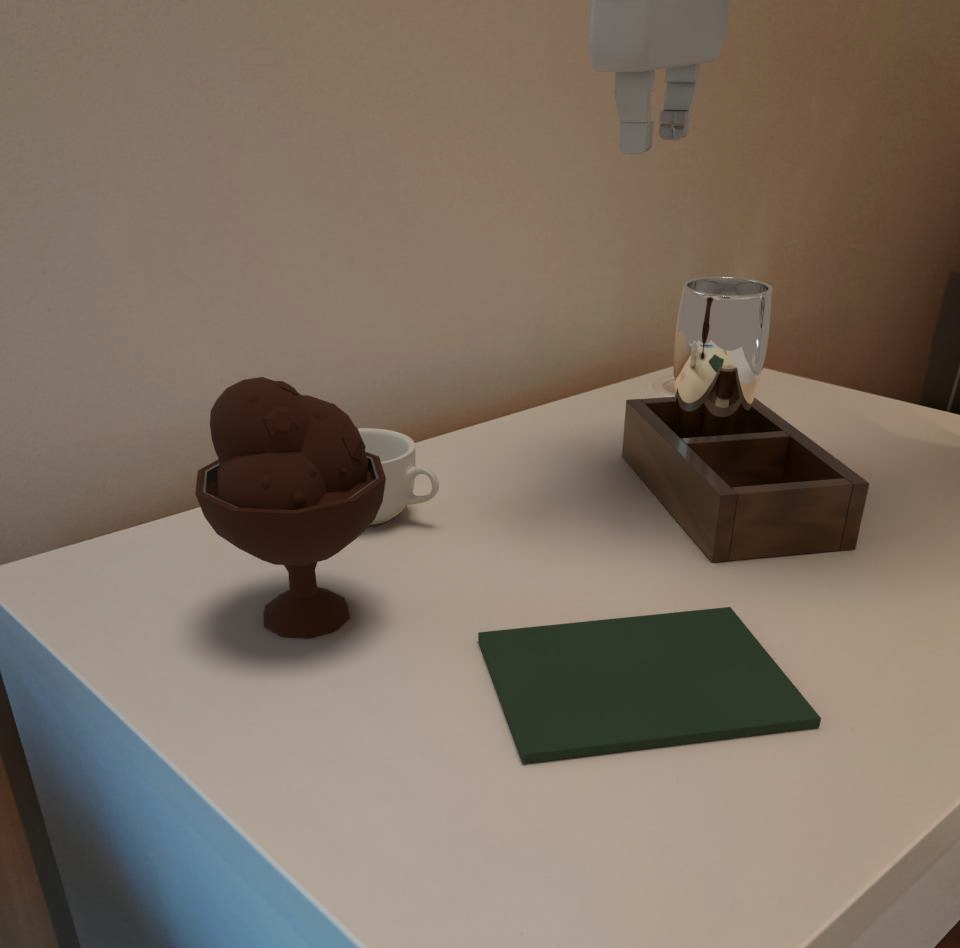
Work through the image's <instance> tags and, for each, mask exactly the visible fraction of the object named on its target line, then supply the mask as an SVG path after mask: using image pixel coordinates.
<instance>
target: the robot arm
mask: <svg viewBox="0 0 960 948" xmlns="http://www.w3.org/2000/svg"><path fill="white" fill-rule="evenodd" d="M732 2H733V0H590V12H589V13H590V14H589V26H588V54H589V60H590V64H591V67H592V69H593V70H594V71H595V72H599V73H615V75H614V98H615V103H616V109H617V115H618V121H619V139H618V148H619V150H620V152H621V153H623V154H627V155H628V154H629V155H641V154H644V153H647V152H649V151H650V150H651V148H653V147H652V146H653V141H654V140H653V135H654V128H655V121H654V120H652V92H654V90H655V82H656V81H655V80H656V71H658V70H659V71H660V70H665V72H664V82H665V83H666V86H665V93H664V101H663V109H662V110H660V113H659V127H658V135H659V138H660V139H662V140H673V141H678V140H681V139H684V138H686V137H687V136H688V134H689V130H690V119H691V111H692V108H693V104H694V101H695V96H696V94H697V89H698V86H699V82H700V72H701V64H706V63H713V62H716V61H718V59H719V57H720V54H721V51H722V49H723V46H724V42H725V39H726V35H727V30H728V25H729V19H730V12H731V7H732Z"/></svg>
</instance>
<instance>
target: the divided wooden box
mask: <svg viewBox="0 0 960 948" xmlns="http://www.w3.org/2000/svg"><path fill="white" fill-rule="evenodd" d="M624 411H625V412H624V425H623V426H624V427H623V436H622V437H623V438H622V448H621V449H622V452H621V457H622V458H623V460H624V461H625V462H626V463H627V464H628V466H629V467H630V468H631V470H633V472H634V473H635V474H636V475H637V476H638V477H639V478H640V479H641V481H642V482H643V483H644V485H646V486H647V488H648V489H649V490H650V491H651V493H652V494H653V495H654V496H655V497H656V498H657V499H658V501H659V502H660V503H661V504H662V506H664V508H665V509H666V510H667V511H668V513H669V514H670V515H671V516H672V518H674V520H675V521H676V523H678V524H679V526H680V527H681V528H682V529H683V530H684V531H685V532H686V533H687V535H688V536H689V537H690V538H691V540H692V541H693V542H694V543H695V544H696V545H697V547H698V548H699V549H700V550H701V551H702V553H703V554H704V555H705V556H706V557H707V558H708V559H709V561H710V562H711V563H721V562H729V561H730V562H732V561H740V560H741V561H742V560H752V559H764V558H774V557H784V556H785V557H786V556H796V555H805V554H816V553H825V552H826V553H827V552H837V551H850V550H851V551H852V550H856V547H857V543H858V539H859V534H860V530H861V524H862V521H863V516H864V510H865V507H866V501H867V497H868V492H869V489H870V488H869V487H870V482H869V481H867V479H865V478H863V477H862V476H861V475H859V473H857V472H855V470H853V469H852V468H850V467H848V465H846V464H845V463H843V462H842V461H840V460H839V459H838V458H837V457H835V456H834V455H833V454H831V453H830V452H829V451H827V450H826V449H825V448H823V447H822V446H820V445H819V444H818V443H816V441H813V439H811V438H810V437H808V436H807V435H805V434H804V433H803V432H802V431H800V430H799V429H798V428H796V427H795V426H794V425H793V424H791V423H790V422H788V421H787V420H786V419H784V418H783V417H781V416H780V415H779V414H777V413H776V412H775V411H773V410H772V409H771V408H770V407H768V406H766V405H765V404H764V403H763V402H761V401H760V400H759V399H758V398H757V397H756V396H755V397H754V400H753V403H752V405H751V408H750V411H749V415H748V418H747V421H746V424H745V428H744V433H743V434H735V435H721V436H708V437H694V438H681V439H680V438H679V437H678V436H677V435H676V425H677V417H676V401H675V396H665V397H664V396H663V397H651V398H650V397H647V398H634V399H626V400H625V410H624Z"/></svg>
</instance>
